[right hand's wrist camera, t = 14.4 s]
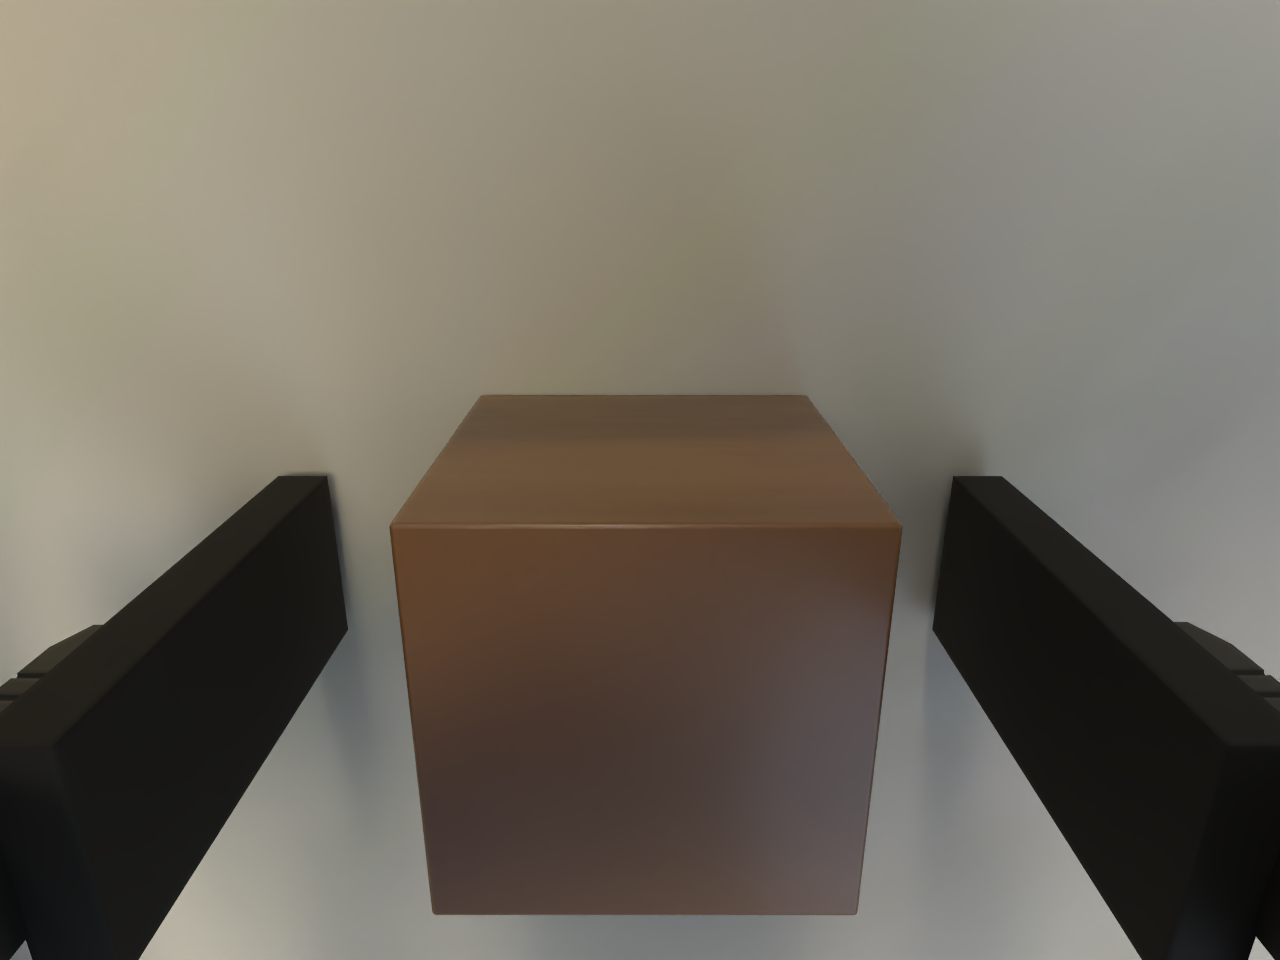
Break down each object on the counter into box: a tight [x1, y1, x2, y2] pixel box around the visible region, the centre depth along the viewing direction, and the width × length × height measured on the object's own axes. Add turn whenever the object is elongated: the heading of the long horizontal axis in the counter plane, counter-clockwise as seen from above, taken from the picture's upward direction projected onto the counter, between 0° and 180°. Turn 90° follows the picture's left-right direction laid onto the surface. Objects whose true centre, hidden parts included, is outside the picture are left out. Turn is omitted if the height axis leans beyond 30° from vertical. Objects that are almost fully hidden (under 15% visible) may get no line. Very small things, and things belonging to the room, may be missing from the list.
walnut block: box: [390, 396, 902, 915], centre depth 11 cm, size 5×5×5 cm
